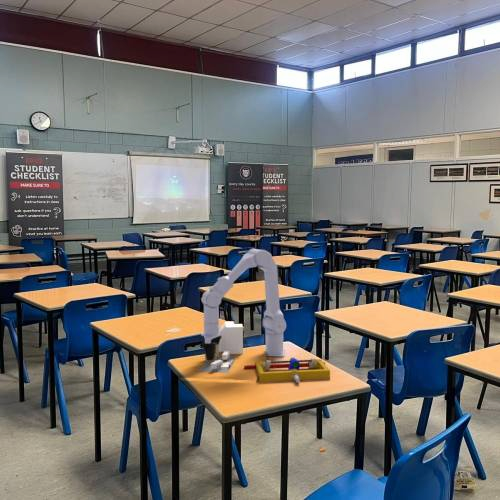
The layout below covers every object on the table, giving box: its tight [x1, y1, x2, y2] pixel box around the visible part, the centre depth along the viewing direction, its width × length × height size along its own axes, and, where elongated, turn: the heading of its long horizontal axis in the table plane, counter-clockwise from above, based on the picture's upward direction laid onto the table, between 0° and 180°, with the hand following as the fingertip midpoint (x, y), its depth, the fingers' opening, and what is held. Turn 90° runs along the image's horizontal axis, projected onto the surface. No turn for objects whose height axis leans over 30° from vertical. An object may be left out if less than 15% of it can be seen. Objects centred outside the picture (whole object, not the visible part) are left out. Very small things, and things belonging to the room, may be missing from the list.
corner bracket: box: [219, 321, 244, 355], centre depth 211 cm, size 11×11×12 cm
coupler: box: [204, 344, 220, 363], centre depth 197 cm, size 4×4×6 cm
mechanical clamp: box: [243, 357, 331, 384], centre depth 181 cm, size 18×6×30 cm
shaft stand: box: [197, 350, 237, 374], centre depth 192 cm, size 19×11×4 cm, turn 172°
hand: (212, 357), depth 197 cm, fingers open, 7 cm apart
